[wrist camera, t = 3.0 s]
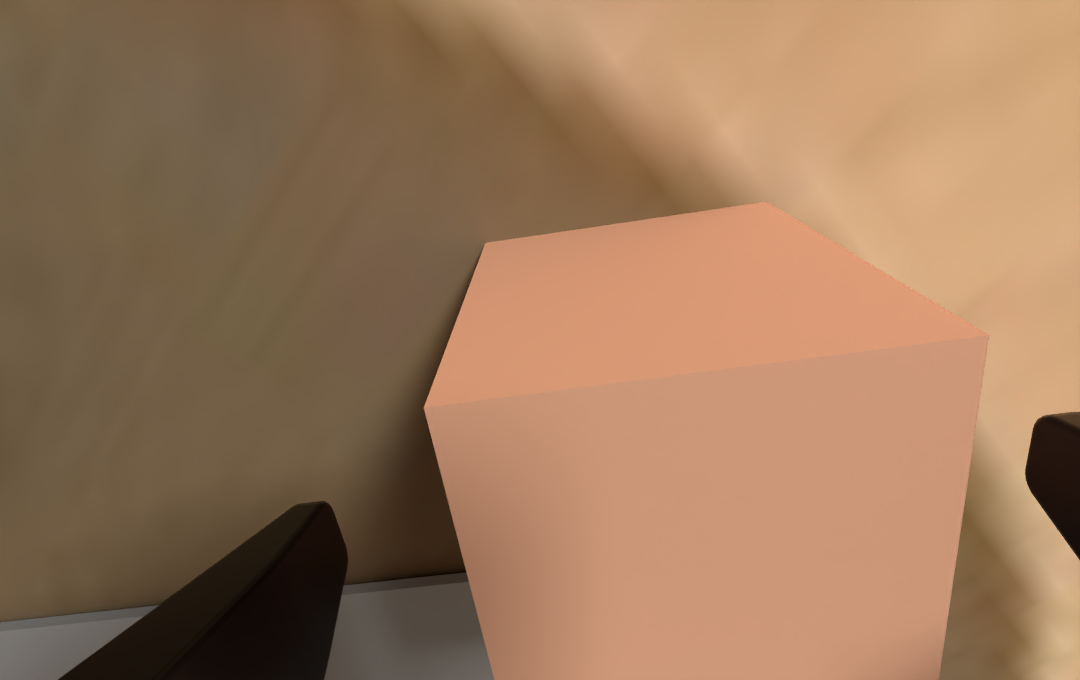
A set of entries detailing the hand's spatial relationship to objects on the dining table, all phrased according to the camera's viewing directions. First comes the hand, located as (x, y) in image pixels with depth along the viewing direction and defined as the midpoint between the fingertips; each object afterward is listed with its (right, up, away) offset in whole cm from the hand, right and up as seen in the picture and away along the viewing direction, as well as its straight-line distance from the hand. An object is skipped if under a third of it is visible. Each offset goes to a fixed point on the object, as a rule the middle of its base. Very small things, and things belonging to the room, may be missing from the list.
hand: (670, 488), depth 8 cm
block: (0, +2, +4) cm, 4 cm away
